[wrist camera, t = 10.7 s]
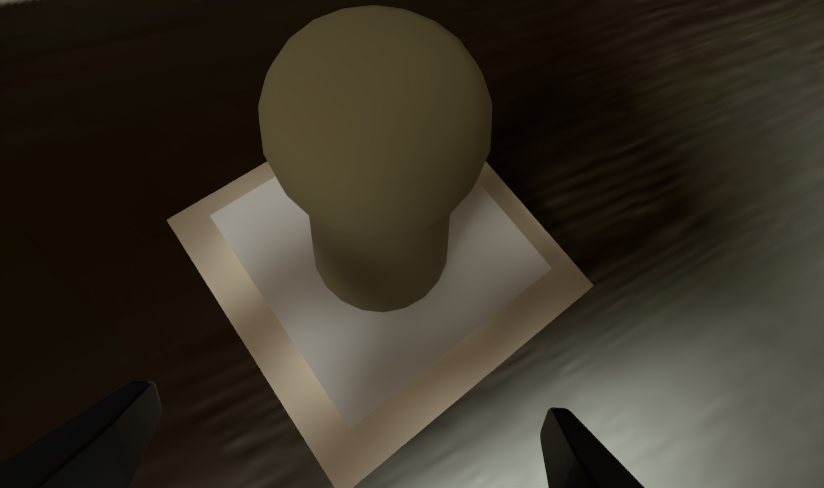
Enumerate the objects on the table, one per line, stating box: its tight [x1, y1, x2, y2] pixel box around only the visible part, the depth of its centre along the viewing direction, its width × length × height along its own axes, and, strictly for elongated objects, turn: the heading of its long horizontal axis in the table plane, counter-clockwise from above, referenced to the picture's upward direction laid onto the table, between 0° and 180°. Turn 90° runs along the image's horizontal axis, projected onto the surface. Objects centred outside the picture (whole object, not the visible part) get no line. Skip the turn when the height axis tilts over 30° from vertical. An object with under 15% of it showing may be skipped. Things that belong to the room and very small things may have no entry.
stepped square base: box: [167, 161, 593, 488], centre depth 20 cm, size 15×15×4 cm
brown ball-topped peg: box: [258, 5, 492, 312], centre depth 13 cm, size 6×6×11 cm
